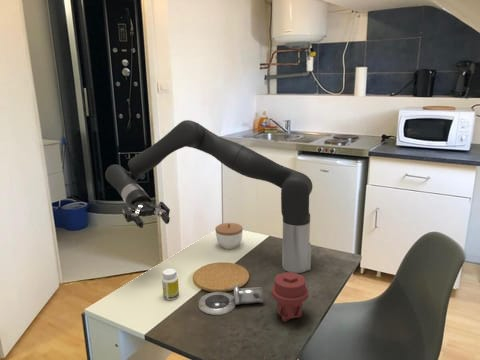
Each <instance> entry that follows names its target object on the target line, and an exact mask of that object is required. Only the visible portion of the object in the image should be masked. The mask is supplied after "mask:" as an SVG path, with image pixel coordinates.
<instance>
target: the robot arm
mask: <svg viewBox="0 0 480 360" xmlns="http://www.w3.org/2000/svg"><path fill="white" fill-rule="evenodd" d="M186 147H188V148H191V149H196V150H198V151H200V152H203V153H206V154H208V155H210V156H212V157H213V158H215V159H216V160H217V161H218V162H220V163H221V164H222V165H224V166H225V167H226V168H228V169H230V170H232V171H233V172H235V173H238V174H240V175H241V176H244V177H247V178H250V179H253V180H258V181H263V182H266V183H270V184H272V185H274V186H276V187H278V188H280V191H281V192H280V203H281V205H280V208H281V209H280V210H281V216H282V249H281V250H282V253H281V255H282V261H281V263H282V265H281V267H282V269H283V270H284V271H286V272H292V273H297V274H300V273H304V272H307V271H311V267H312V266H311V263H312V262H311V260H312V257H311V256H312V244H311V241H310V239H311V238H310V236H311V235H310V234H311V231H310V230H311V213H310V194H311V193H312V191H313V181H312V179H310V177H309V176H308V175H307V174H305V173H303V172H301V171H298V170H295V169H292V168H289V167H287V166H284V165H281V164H279V163H277V162H275V161H274V160H272V159H270V158H268V157H266V156H264V155H262V154H261V153H258V152H257V151H254V150H253V149H251V148H249V147H247V146H245V145H242V144H240V143H238V142H235V141H234V140H233V141H232V140H230V139H226V138H224V137H221V136H219V135H217V134H216V133H214V132H212V131H210V130H209V129H208V128H206V127H204V126H203V125H202V124H200V123H198V122H196V121H194V120H190V119H186V120H185V119H184V120H182V121H181V122H179V123H177V124H176V126H174V127H173V128H172V129H171V130H170V131H168V133H166V134H165V135H164V136H163V137H162V138H161V139H159V140H158V141H157V142H155V143H154V144H152V145H150V147H148V148H146V149H145V150H143V151H141V152H140V153H138V154H136V155H135V156H133V157H131V158H130V159H129V160H128V162H127V166H128V169H129V170H130V171H128V170H126V169H125V168H124V167H123V166H122V165H120V164H111V165H109V166H108V167H107V169H106V170H105V174H104V175H105V179H106V181H107V182H108V183H109V184H110V185H111V186H112V187H113V188H114V189H115V190H116V191H117V192H118V194H119V195H120V197H121V198H122V200H123V202H124V204H126V205H123V206H122V215H123V217H124V218H125V221H126V222H127V223H131V222H133V223H134V224H135V225H136V226H137V227H139V229H142V228H144V223H145V222H144V221H143V219H142V218H143V217H147V216H148V217H150V216H151V217H154V218H160V219H161V220H162V221H163V222H164V223H165V225H168V224H169V223H170V220H171V219H170V218H171V217H170V211H171V209H170V208H169V207H168V206H167V205H166V204H165V203H164V202H163V201H159V203H158V204H157V203H155V202H153V201H152V199H151V197H150V196H149V195H148V193H147V192H146V191H145V190H144V189H143V188H142V187H141V186H140V185H139V184H138V182H137V181H138V180H139V179H140V178H141V177H142V176H143V175H144V174H146V173H147V172H149V171H151V170H152V169H154V168H155V167H157V166H158V165H159V164H160V163H161V162H162V161H164V160H165V158H167V157H168V156H169V155H171V154H173V153H174V152H176V151H178V150H181V149H183V148H186ZM141 217H142V218H141Z"/></svg>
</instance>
